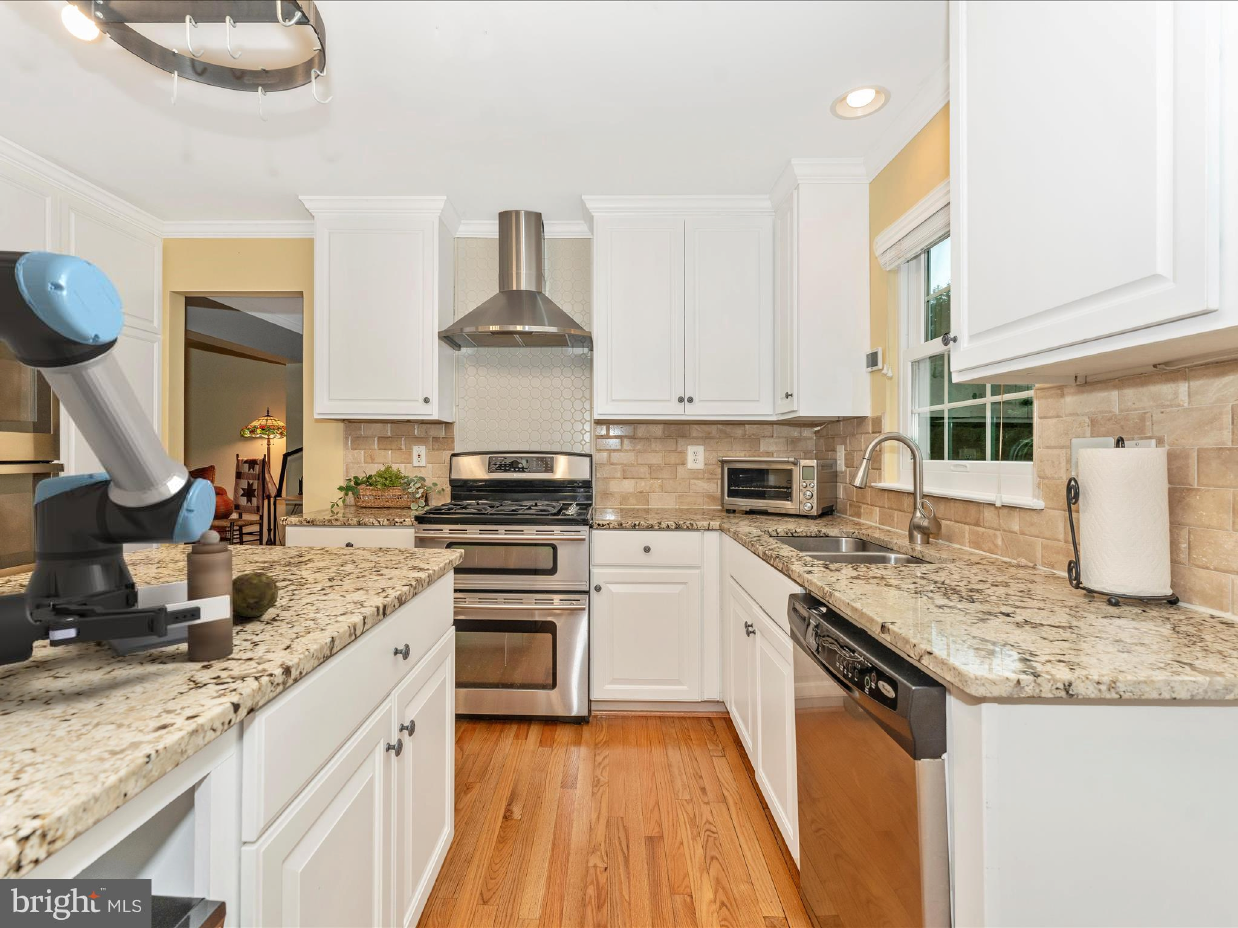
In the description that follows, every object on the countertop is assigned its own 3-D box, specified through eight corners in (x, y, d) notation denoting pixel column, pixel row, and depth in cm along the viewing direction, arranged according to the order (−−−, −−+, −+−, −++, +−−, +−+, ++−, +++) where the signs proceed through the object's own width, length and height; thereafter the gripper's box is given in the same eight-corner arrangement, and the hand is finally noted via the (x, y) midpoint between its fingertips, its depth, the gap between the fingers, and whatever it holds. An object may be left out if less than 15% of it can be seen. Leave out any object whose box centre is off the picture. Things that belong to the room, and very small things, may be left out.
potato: (276, 606, 106) (276, 561, 105) (279, 624, 95) (279, 574, 94) (220, 612, 101) (220, 565, 101) (216, 632, 90) (216, 579, 90)
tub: (99, 637, 87) (99, 603, 87) (196, 620, 97) (196, 589, 96) (118, 655, 80) (118, 618, 80) (222, 634, 89) (221, 601, 89)
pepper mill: (182, 656, 80) (181, 530, 79) (225, 646, 84) (224, 526, 83) (194, 664, 77) (193, 533, 76) (238, 654, 80) (237, 529, 80)
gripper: (-29, 643, 72) (184, 608, 88) (-12, 700, 55) (245, 645, 72) (-30, 581, 71) (183, 558, 88) (-13, 620, 55) (244, 583, 72)
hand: (211, 597), depth 80 cm, fingers open, 13 cm apart
